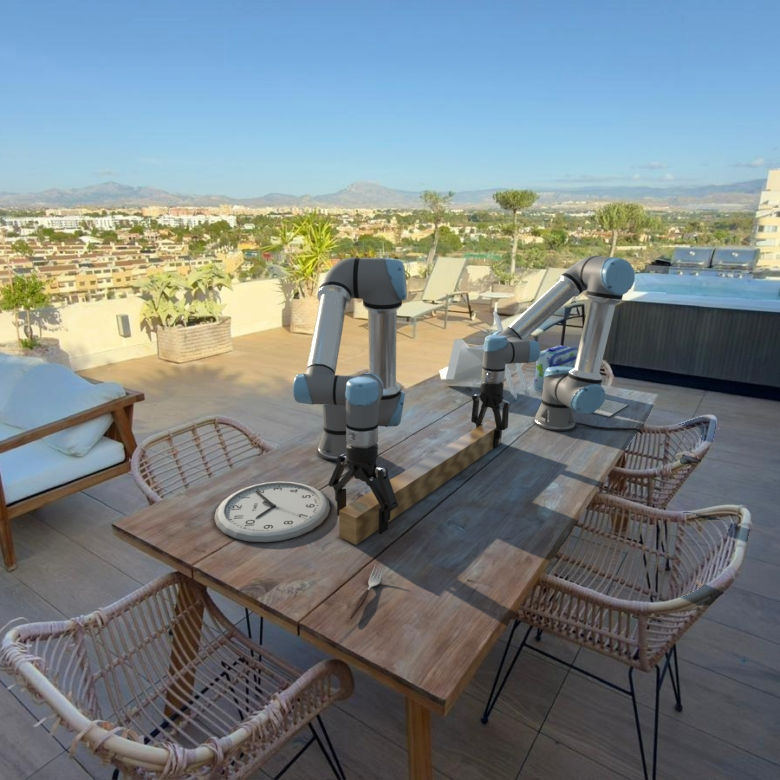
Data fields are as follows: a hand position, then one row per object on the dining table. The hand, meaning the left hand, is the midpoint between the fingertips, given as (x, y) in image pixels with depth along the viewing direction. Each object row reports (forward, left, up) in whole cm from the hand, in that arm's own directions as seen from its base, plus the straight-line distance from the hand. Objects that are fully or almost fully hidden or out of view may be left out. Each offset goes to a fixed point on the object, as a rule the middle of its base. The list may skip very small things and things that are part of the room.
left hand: (361, 522), depth 130 cm
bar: (-23, +26, -3) cm, 35 cm away
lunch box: (-104, +107, -3) cm, 149 cm away
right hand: (-46, +51, -2) cm, 69 cm away
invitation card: (-79, +116, -3) cm, 140 cm away
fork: (+24, -2, -3) cm, 24 cm away
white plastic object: (-106, +71, -3) cm, 127 cm away
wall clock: (-14, -22, -3) cm, 26 cm away
